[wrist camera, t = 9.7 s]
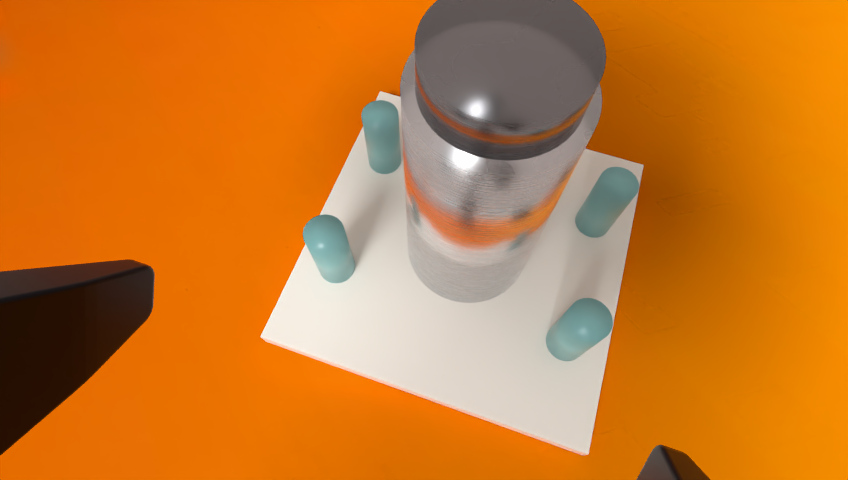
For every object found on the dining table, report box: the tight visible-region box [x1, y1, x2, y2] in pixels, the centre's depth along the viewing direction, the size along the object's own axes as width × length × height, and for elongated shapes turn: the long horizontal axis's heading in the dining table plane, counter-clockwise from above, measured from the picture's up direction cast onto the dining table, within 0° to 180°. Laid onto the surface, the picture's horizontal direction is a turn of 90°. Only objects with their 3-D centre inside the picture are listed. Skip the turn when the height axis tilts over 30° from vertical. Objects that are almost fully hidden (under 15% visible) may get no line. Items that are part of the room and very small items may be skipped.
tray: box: [261, 91, 644, 455], centre depth 22 cm, size 14×14×4 cm
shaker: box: [400, 0, 606, 303], centre depth 18 cm, size 5×5×12 cm
